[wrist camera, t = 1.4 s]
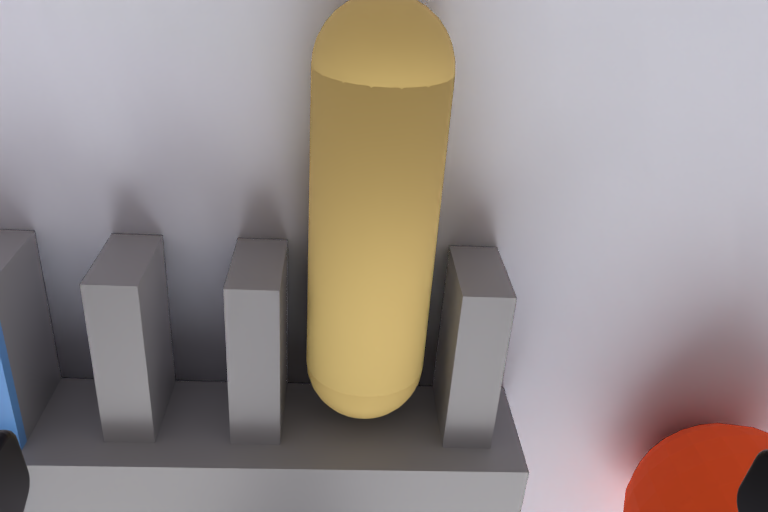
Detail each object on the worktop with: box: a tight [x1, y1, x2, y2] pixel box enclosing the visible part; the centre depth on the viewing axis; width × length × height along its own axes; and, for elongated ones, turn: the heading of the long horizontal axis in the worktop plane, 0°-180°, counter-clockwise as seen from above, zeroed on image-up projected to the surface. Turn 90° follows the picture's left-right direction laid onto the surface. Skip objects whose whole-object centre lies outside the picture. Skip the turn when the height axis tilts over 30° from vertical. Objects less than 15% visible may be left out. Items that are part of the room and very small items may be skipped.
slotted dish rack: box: [0, 230, 529, 512], centre depth 22 cm, size 8×25×5 cm, turn 86°
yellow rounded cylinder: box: [306, 0, 455, 419], centre depth 20 cm, size 13×4×4 cm, turn 176°
